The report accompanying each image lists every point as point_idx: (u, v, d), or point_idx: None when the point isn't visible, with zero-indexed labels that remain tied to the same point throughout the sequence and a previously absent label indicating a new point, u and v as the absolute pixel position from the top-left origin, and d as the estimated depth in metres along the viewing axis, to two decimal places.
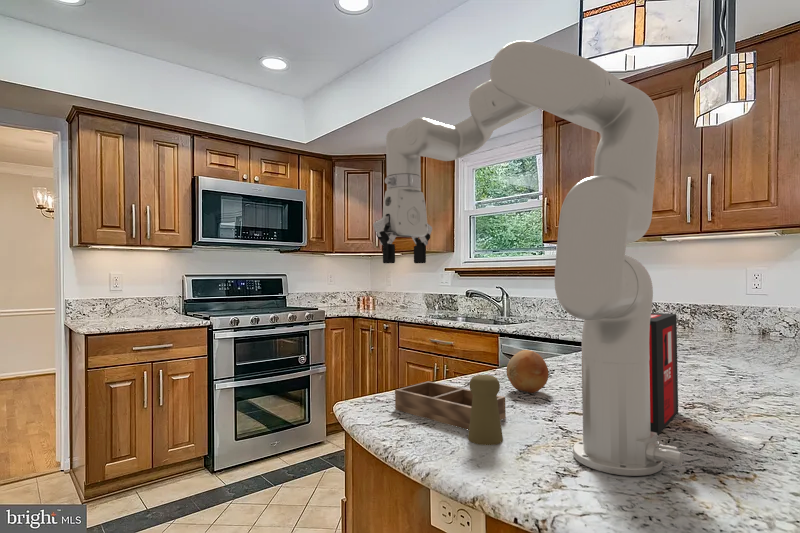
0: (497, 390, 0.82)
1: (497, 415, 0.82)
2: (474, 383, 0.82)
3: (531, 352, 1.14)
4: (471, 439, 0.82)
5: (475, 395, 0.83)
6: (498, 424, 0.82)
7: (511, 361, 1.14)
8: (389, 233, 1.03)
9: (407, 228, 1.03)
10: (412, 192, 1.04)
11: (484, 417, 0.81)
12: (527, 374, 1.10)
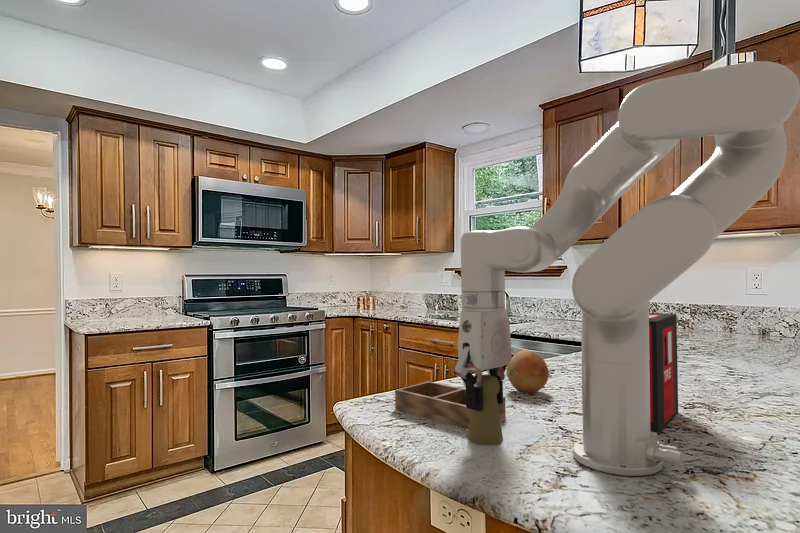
0: (497, 390, 0.82)
1: (497, 415, 0.82)
2: None
3: (531, 352, 1.14)
4: (471, 439, 0.82)
5: None
6: (498, 424, 0.82)
7: (511, 361, 1.14)
8: (472, 370, 0.81)
9: (491, 361, 0.81)
10: (496, 313, 0.82)
11: (484, 417, 0.81)
12: (527, 374, 1.10)
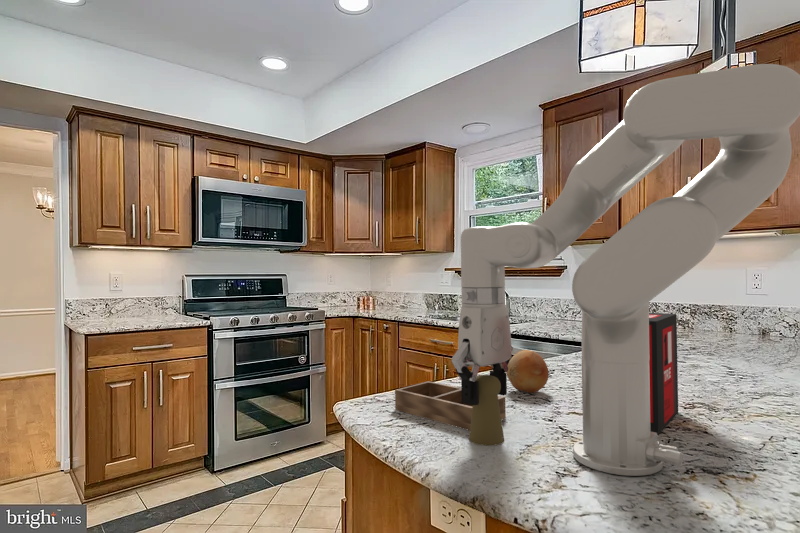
0: (498, 390, 0.82)
1: (498, 415, 0.82)
2: None
3: (531, 352, 1.14)
4: (472, 439, 0.82)
5: None
6: (499, 424, 0.82)
7: (511, 361, 1.14)
8: (469, 364, 0.81)
9: (491, 357, 0.81)
10: (496, 309, 0.82)
11: (485, 417, 0.81)
12: (527, 374, 1.10)
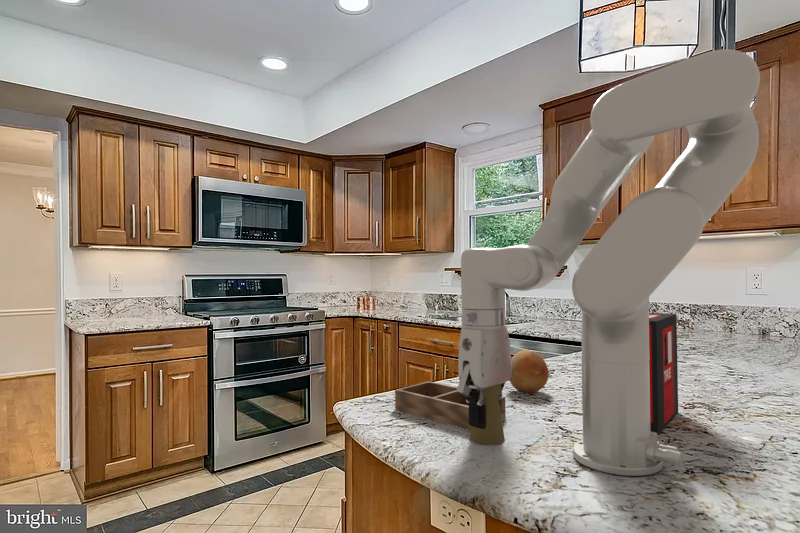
0: (498, 390, 0.82)
1: (498, 415, 0.82)
2: None
3: (531, 352, 1.14)
4: (473, 439, 0.82)
5: None
6: (499, 424, 0.82)
7: (511, 361, 1.14)
8: (474, 388, 0.82)
9: (491, 379, 0.81)
10: (496, 330, 0.82)
11: (486, 417, 0.81)
12: (527, 374, 1.10)
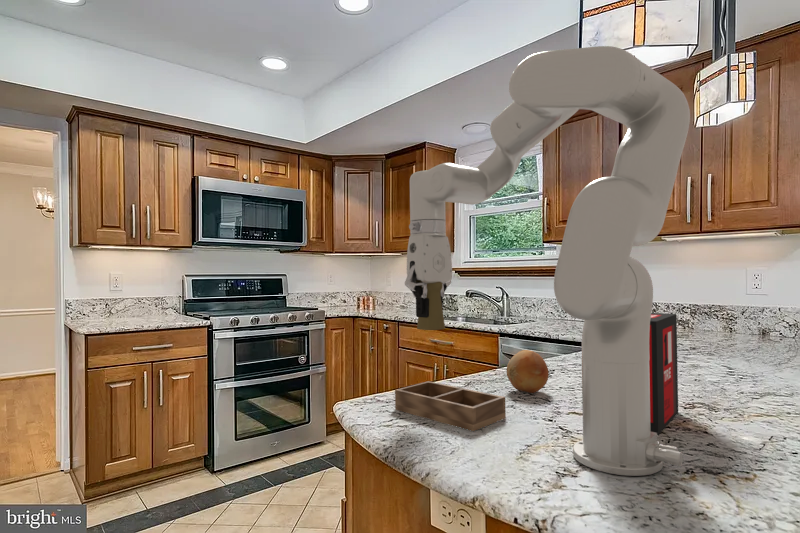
0: (439, 286, 1.01)
1: (440, 307, 1.01)
2: (421, 281, 1.01)
3: (531, 352, 1.14)
4: (418, 327, 1.01)
5: None
6: (440, 314, 1.00)
7: (511, 361, 1.14)
8: (419, 285, 1.00)
9: (432, 276, 0.99)
10: (437, 238, 1.00)
11: (429, 308, 1.00)
12: (527, 374, 1.10)
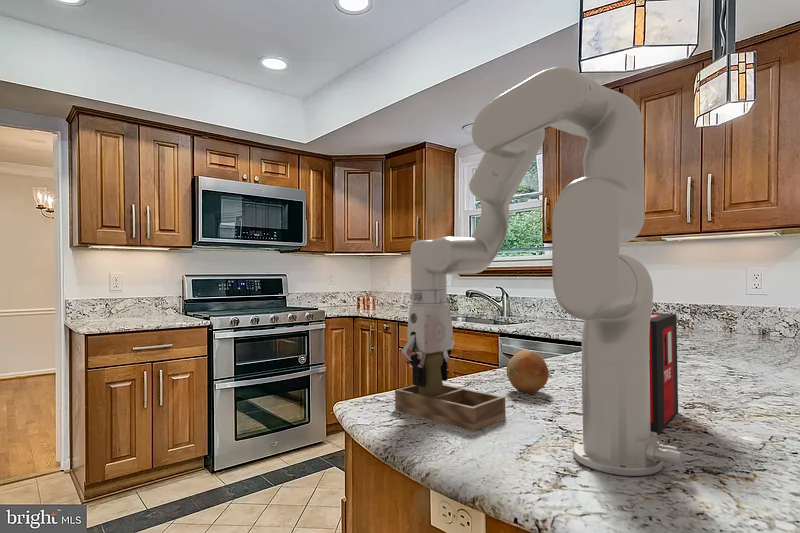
0: (439, 363, 1.00)
1: (439, 384, 1.00)
2: None
3: (531, 352, 1.14)
4: None
5: None
6: (440, 391, 1.00)
7: (511, 361, 1.14)
8: (417, 354, 1.00)
9: (433, 346, 0.99)
10: (438, 307, 1.00)
11: (428, 385, 1.00)
12: (527, 374, 1.10)
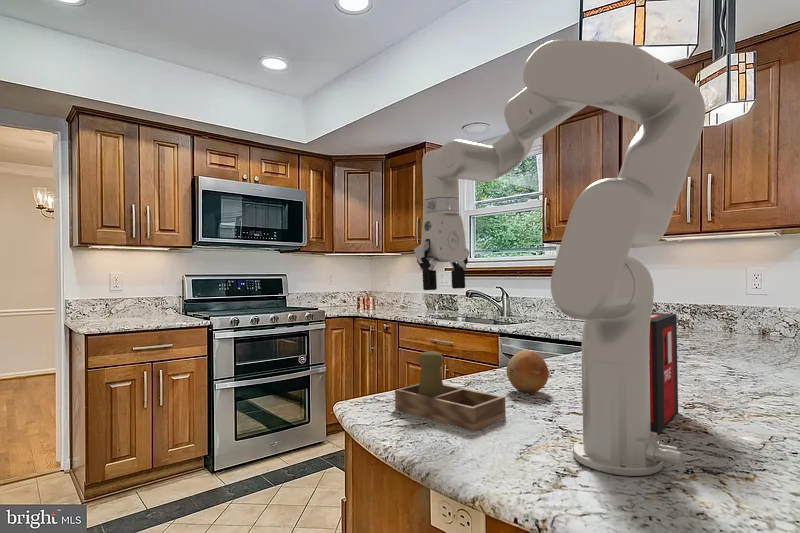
0: (439, 363, 1.00)
1: (439, 384, 1.00)
2: (421, 357, 1.01)
3: (531, 352, 1.14)
4: None
5: (421, 367, 1.01)
6: (440, 391, 1.00)
7: (511, 361, 1.14)
8: (429, 259, 0.99)
9: (448, 254, 0.99)
10: (451, 216, 1.01)
11: (428, 385, 0.99)
12: (527, 374, 1.10)
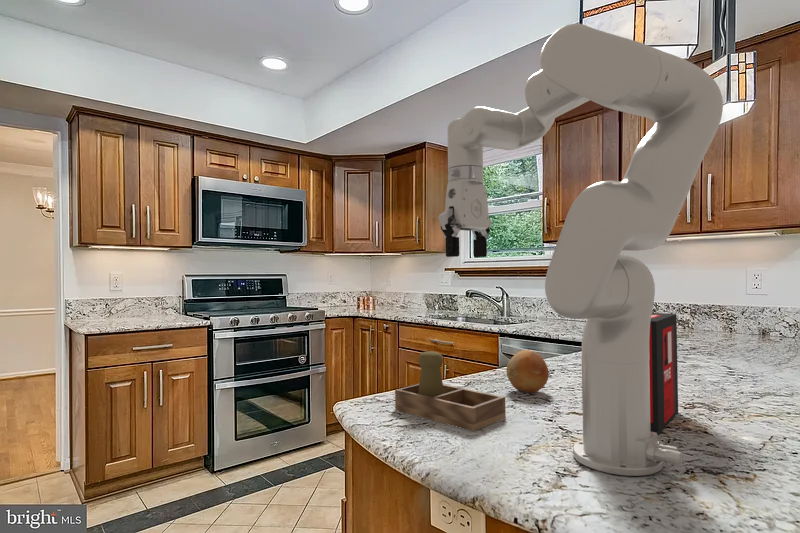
0: (439, 363, 1.00)
1: (439, 384, 1.00)
2: (421, 357, 1.01)
3: (531, 352, 1.14)
4: None
5: (421, 367, 1.01)
6: (440, 391, 1.00)
7: (511, 361, 1.14)
8: (452, 226, 1.01)
9: (471, 221, 1.00)
10: (475, 184, 1.02)
11: (428, 385, 0.99)
12: (527, 374, 1.10)
